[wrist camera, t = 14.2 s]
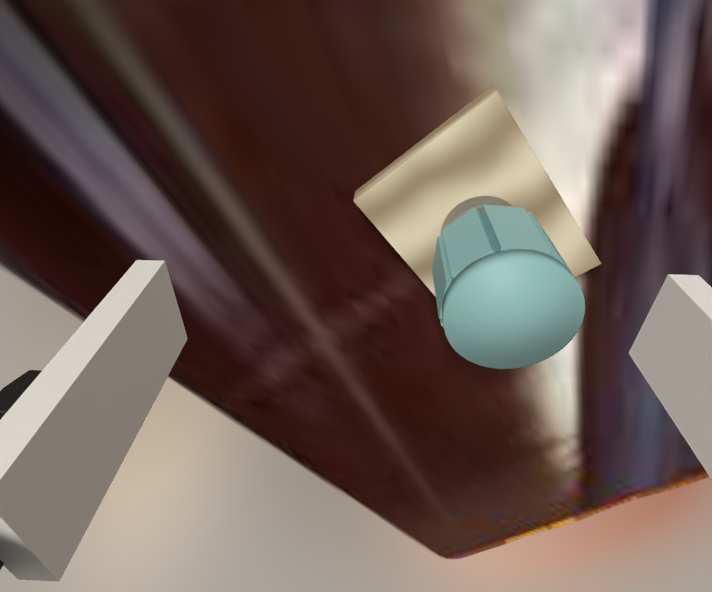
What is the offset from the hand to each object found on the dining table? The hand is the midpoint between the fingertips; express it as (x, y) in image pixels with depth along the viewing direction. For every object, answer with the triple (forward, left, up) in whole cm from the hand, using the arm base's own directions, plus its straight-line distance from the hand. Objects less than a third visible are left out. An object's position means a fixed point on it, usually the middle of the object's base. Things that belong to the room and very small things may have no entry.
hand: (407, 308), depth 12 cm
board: (+10, 0, -23) cm, 26 cm away
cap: (+10, 0, -17) cm, 20 cm away
